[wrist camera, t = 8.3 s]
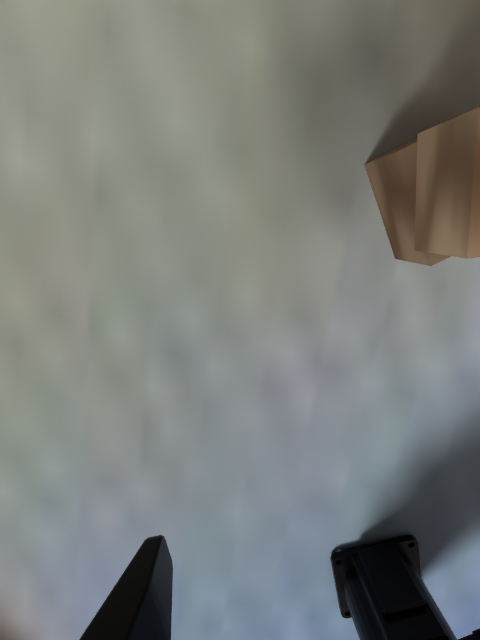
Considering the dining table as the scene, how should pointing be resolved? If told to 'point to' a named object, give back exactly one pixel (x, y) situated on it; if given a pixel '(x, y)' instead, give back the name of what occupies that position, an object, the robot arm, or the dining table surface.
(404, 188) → the tower base
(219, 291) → the dining table surface
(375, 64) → the dining table surface
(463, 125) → the tower mid
